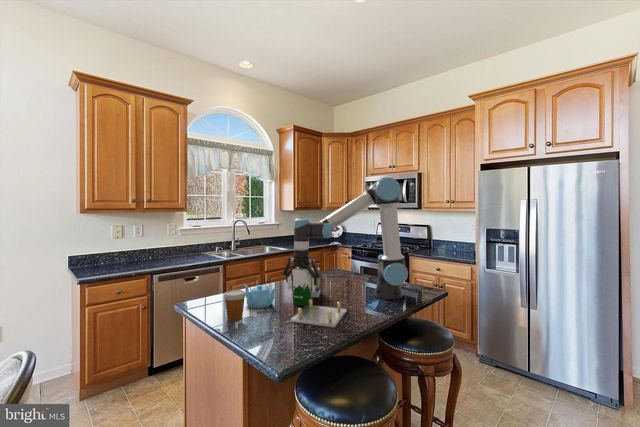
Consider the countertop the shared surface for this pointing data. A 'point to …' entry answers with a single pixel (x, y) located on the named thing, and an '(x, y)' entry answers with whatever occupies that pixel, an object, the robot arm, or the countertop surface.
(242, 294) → the disposable coffee cup
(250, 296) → the teapot
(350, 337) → the countertop surface
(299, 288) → the milk carton
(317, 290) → the tea box
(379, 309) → the countertop surface
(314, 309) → the white flat square slab
